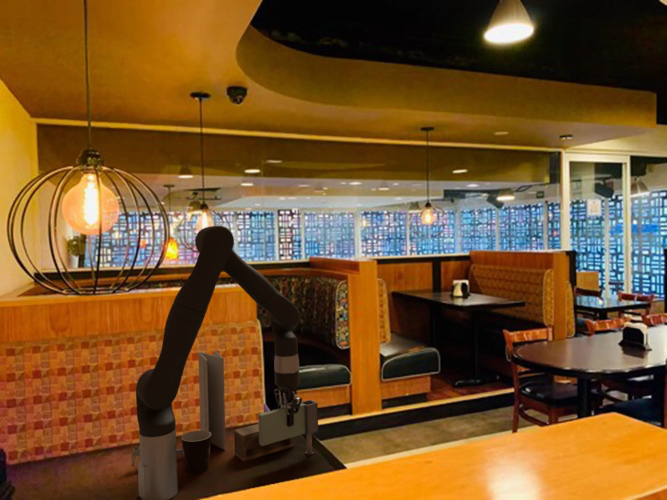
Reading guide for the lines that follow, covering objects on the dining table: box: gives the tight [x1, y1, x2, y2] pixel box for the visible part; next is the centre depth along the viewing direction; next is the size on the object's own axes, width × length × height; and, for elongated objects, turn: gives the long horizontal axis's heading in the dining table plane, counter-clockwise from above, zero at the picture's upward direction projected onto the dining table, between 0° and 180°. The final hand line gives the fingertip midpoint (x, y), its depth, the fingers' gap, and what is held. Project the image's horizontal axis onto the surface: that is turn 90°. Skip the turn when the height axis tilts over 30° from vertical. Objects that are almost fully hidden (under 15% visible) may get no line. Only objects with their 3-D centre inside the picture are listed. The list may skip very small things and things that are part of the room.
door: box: [257, 399, 319, 446], centre depth 156 cm, size 19×4×9 cm, turn 126°
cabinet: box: [233, 423, 315, 462], centre depth 160 cm, size 20×15×11 cm
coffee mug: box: [180, 430, 212, 475], centre depth 153 cm, size 12×9×10 cm
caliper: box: [130, 445, 184, 467], centre depth 157 cm, size 20×1×6 cm, turn 117°
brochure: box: [197, 349, 227, 451], centre depth 170 cm, size 14×6×30 cm, turn 25°
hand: (288, 424), depth 156 cm, fingers closed on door, 2 cm apart
